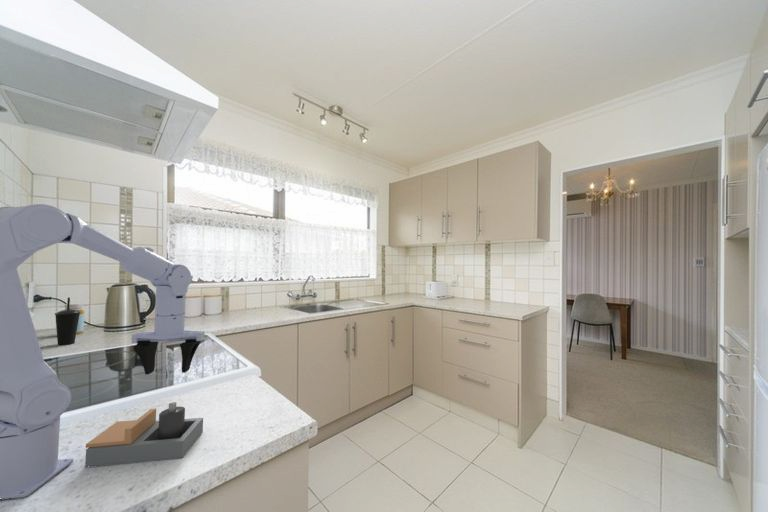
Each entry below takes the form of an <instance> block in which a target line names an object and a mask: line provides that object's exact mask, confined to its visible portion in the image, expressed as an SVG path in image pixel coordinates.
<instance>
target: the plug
mask: <svg viewBox="0 0 768 512" xmlns="http://www.w3.org/2000/svg"><path fill="white" fill-rule="evenodd" d="M158 414H159V415H158V421H159V429H158V440H165V439H176V438H181V437H182V435H183V434H184V421H185V419H186V418H185V417H186V416H185V415H186V409H185V407H184V406H177V402H173V401H172V402H170V403H169V404H168V408H166V409H163V410H162V411H161V412H159V413H158Z"/></svg>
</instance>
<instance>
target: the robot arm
mask: <svg viewBox="0 0 768 512" xmlns="http://www.w3.org/2000/svg"><path fill="white" fill-rule="evenodd" d="M56 244H72V245H76V246H79V247H81V248H84V249H86V250H89V251H92V252H94V253H97V254H99V255H102V256H104V257H107V258H110V259H113V260H114V261H117V262H119V264H120V268H121V269H122V270H123V271H125V272H127V273H130V274H132V275H134V276H138V277H140V278H141V279H143V280H146V281H149V282H150V284H151V285H152V286H153V287H154V288H155V303H154V304H155V305H154V307H155V309H154V329H153V330H154V331H149V332H137V333H134V334H131V344H136V345H134V346H133V348H132V349H133V351H134V352H135V353H136V354H137V356H138V357H139V359H140V361H141V364H142V367H143V370H144V374H145V375H150V374H152V373H153V372H154V371H155V367H156V353H157V348H158V344H159V342H181V341H182V343H180V344H179V347H180V348H179V349H180V351H181V373H187V372H188V371H190V368H191V366H192V365H191V364H192V361H193V357H194V356H195V353H196V351H197V349H198V348H199V346H200V344H201V342H202V341H204V340H205V330H200V331H199V330H185V319H186V318H185V315H186V295H187V293H188V289H189V288H188V287H189V286H190V285H191V283H192V282H193V279H194V278H193V277H194V275H192V274H191V271H190V269H189V268H188V267H187V266H186V265H184V264H174V262H173V260H172V259H171V258H168V257H167V258H164V257H163V256H161V255H158V254H157V253H155V252H154V251H155V249H153V248H152V247H149V246H147V247H146V246H145V247H142V246H137V247H130V246H128V245H126V244H124V243H123V242H121V241H119V240H118V239H116V238H114V237H112V236H110V235H109V234H107V233H105V232H103V231H101V230H99V229H97V228H95V227H94V226H92V225H90V224H88V223H86V222H85V221H83V220H82V219H81V218H79V217H78V216H76V215H73V214H71V213H67V212H66V213H65V212H64V211H63V210H61V209H59V208H58V207H57V206H52V205H48V204H43V203H35V204H30V205H25V206H0V498H1V499H2V500H10V499H9V498H11V499H19V498H25V497H27V496H29V495H31V494H32V493H33V492H35V491H36V490H38V489H39V488H40V487H42V486H43V485H44V484H45V483H47V482H48V481H50V480H51V479H52V478H53V477H55V476H56V475H57V474H59V473H60V472H61V471H62V470H64V469H66V468H67V467H68V466H69V465H71V464H72V463H73V462H74V458H64V459H59V445H60V428H61V427H60V426H61V415H63V413H64V412H66V410H67V409H68V407H69V406H70V403H71V401H72V393H71V392H72V391H71V390H70V388H69V387H68V386H66V385H64V384H63V383H61V381H60V380H59V378H58V374H57V373H56V371H54V369H53V368H52V367H51V366H49V364H47V362H45V360H44V356H43V352H42V349H41V346H40V343H39V339H38V336H37V332H36V329H35V325H34V322H33V319H32V314H31V313H30V309H29V308H30V307H29V306H28V302H27V299H26V295H25V292H24V288H23V285H22V280H21V279H20V275H19V270H18V268H19V266H21V265H22V264H23V263H24V262H25V261H26V260H28V259H29V258H30V257H31V256H33V255H35V254H36V252H39V251H40V250H41V251H42V250H43V249H45V248H48V247H51V246H53V245H56ZM4 498H5V499H4Z"/></svg>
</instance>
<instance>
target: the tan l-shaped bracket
mask: <svg viewBox="0 0 768 512" xmlns="http://www.w3.org/2000/svg"><path fill="white" fill-rule="evenodd" d="M156 421H157V408H150V409H149V410H148V411H146V412H145V413H144V414H142V415H141V416H140V417H138V418H137V419H134V420H132V419H131V420H123V421H121V420H120V421H118V420H117V421H116V422H115V423H113V424H111V425H110V426H109V427H107V428H105V430H104V431H102V432H100V434H98V435H96V436H95V437H94V438H92V439H91V440H89V441H88V442H87V443H85V449H88V448H89V447H100V446H111V445H122V444H131V443H132V442H133V441H134V440H135V439H137V438H138V437H139V436H140V435H141V434H142V433H143V432H145V431H146V430H147V429H148V428H149V427H150V426H151V425H153V424H154V423H155V422H156Z"/></svg>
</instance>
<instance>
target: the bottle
mask: <svg viewBox="0 0 768 512" xmlns="http://www.w3.org/2000/svg"><path fill="white" fill-rule="evenodd" d="M69 309H73V310H78V311H81V313H80V315H79V321H78V327H77V332H76V334H77V335H80V333H81V334H82V333H84V326H85V311H84V302H70V307H69ZM64 310H67V303H65V305H64Z"/></svg>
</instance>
